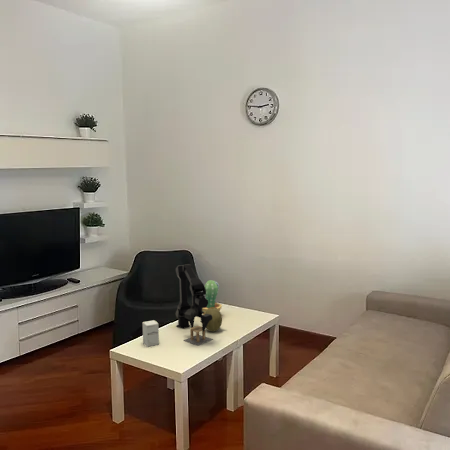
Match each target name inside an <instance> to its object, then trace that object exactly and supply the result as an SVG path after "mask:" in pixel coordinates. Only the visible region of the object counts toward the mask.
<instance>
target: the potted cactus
mask: <svg viewBox="0 0 450 450" xmlns="http://www.w3.org/2000/svg"><path fill="white" fill-rule="evenodd" d="M204 286H205V289H206V295H205V298H206V299H207V300H208V305H207V307H205V308H202V311H203V312H204V313H203V314H202V315H204V314H205V312H206V310H207V309H208V308H210V307H216V308H217V309H218V310H219V311H220V312H221V310H222V306H223V305H222V304H221V303H219V302H216V299H217V296H218V293H219V290H220V284H219V283H218V282H217V281H216V280H213V279H212V280H211V279H209V280H207V282H206V283H204Z"/></svg>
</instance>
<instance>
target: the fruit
mask: <svg viewBox="0 0 450 450" xmlns="http://www.w3.org/2000/svg"><path fill="white" fill-rule="evenodd" d="M205 314H210V315H212V320H211V321H209V322H208V324H207V326H206V329H207V331H209V332H217V331H218V330H219V329H221V326H222V324H223V317H222V316H223V315H222V313H221V310H220V311H219V310H218V309H217V308H216V307H210V308H208V309H207V310H206V312H205ZM206 329H205V330H206Z"/></svg>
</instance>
